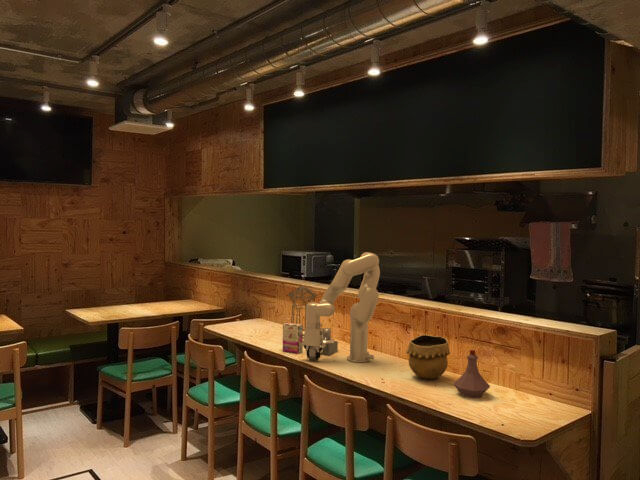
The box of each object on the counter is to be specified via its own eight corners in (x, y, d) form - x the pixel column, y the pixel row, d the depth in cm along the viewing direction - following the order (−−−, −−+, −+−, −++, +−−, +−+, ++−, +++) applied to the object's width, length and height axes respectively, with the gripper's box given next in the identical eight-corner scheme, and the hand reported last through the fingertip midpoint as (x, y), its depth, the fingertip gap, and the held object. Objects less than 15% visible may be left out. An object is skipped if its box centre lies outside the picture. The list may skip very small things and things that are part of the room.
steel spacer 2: (332, 338, 313) (332, 328, 312) (328, 340, 308) (328, 330, 308) (324, 337, 315) (324, 327, 315) (320, 339, 310) (320, 329, 310)
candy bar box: (302, 352, 308) (303, 324, 308) (298, 354, 304) (299, 325, 303) (286, 349, 313) (287, 322, 313) (282, 351, 309) (282, 323, 308)
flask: (474, 403, 227) (476, 357, 226) (444, 392, 240) (446, 349, 240) (498, 396, 237) (499, 352, 236) (468, 386, 250) (469, 344, 249)
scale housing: (337, 351, 312) (337, 341, 312) (328, 356, 301) (328, 345, 300) (319, 348, 317) (319, 338, 317) (309, 353, 306) (309, 342, 306)
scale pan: (337, 341, 312) (337, 339, 312) (328, 345, 301) (328, 343, 301) (319, 338, 317) (319, 336, 317) (310, 342, 306) (310, 340, 306)
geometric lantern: (318, 341, 336) (319, 287, 334) (295, 344, 329) (295, 288, 327) (308, 336, 350) (308, 283, 348) (286, 338, 343) (286, 285, 341)
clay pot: (436, 387, 247) (437, 345, 246) (397, 378, 261) (398, 338, 260) (457, 378, 263) (458, 338, 262) (419, 369, 277) (420, 331, 276)
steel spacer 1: (319, 358, 291) (319, 347, 291) (315, 360, 286) (315, 349, 286) (311, 357, 293) (311, 346, 293) (307, 359, 289) (307, 348, 288)
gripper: (330, 325, 288) (330, 358, 289) (302, 322, 296) (303, 354, 297) (324, 328, 282) (324, 361, 283) (296, 325, 289) (296, 358, 290)
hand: (313, 357), depth 290 cm, fingers closed on steel spacer 1, 5 cm apart
